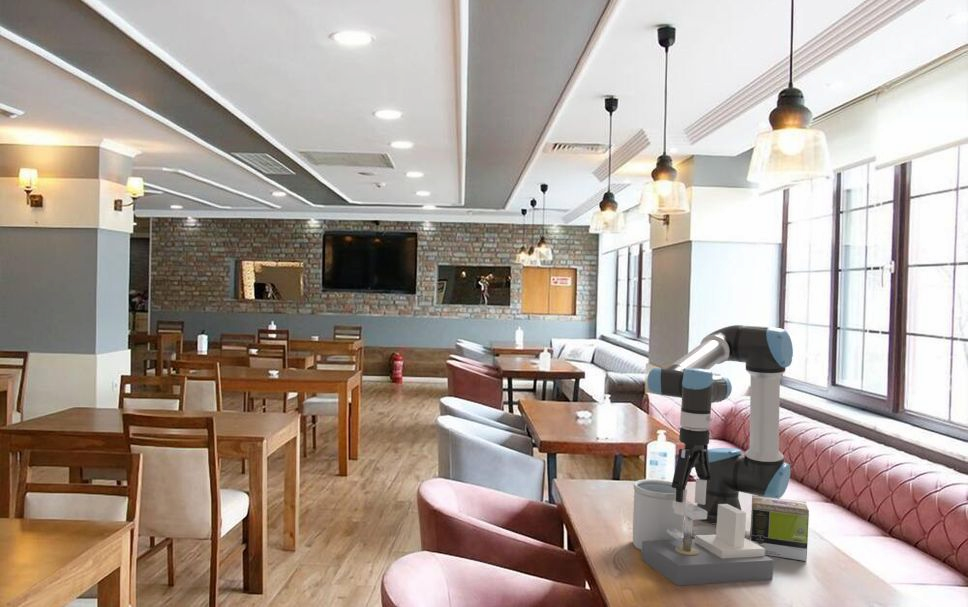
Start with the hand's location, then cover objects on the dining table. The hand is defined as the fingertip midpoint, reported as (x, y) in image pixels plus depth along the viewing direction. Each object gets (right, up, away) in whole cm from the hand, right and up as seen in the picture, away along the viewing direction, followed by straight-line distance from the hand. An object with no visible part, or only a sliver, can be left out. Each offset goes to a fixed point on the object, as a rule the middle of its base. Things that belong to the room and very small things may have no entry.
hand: (690, 508), depth 193 cm
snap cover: (+11, -12, +4) cm, 17 cm away
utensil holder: (-5, -16, +18) cm, 24 cm away
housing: (+4, -17, +2) cm, 17 cm away
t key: (-1, -11, +2) cm, 11 cm away
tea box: (+30, -18, +19) cm, 40 cm away
